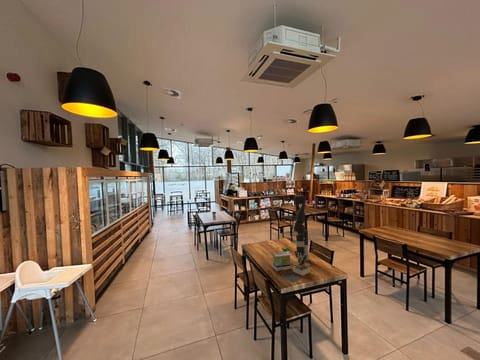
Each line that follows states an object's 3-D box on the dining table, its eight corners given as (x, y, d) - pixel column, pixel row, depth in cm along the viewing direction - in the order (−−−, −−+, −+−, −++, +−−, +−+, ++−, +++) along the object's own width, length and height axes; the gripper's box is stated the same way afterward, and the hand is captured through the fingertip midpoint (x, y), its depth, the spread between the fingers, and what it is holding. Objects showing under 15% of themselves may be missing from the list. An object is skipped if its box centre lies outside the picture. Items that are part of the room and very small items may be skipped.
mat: (279, 277, 186) (279, 276, 186) (290, 272, 195) (290, 271, 195) (292, 283, 174) (292, 283, 174) (303, 277, 183) (303, 277, 183)
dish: (293, 272, 195) (293, 267, 195) (300, 268, 201) (300, 263, 201) (303, 276, 186) (302, 271, 186) (310, 272, 193) (309, 267, 193)
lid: (291, 264, 195) (291, 257, 195) (299, 261, 202) (299, 254, 202) (302, 269, 185) (302, 261, 185) (310, 265, 192) (310, 257, 192)
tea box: (276, 271, 198) (275, 256, 198) (273, 267, 208) (272, 253, 208) (290, 269, 201) (290, 254, 201) (286, 265, 211) (285, 251, 211)
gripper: (291, 244, 197) (292, 262, 197) (304, 248, 186) (305, 266, 186) (296, 242, 202) (297, 260, 202) (309, 246, 190) (309, 264, 190)
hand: (301, 263), depth 194 cm, fingers closed on lid, 3 cm apart
